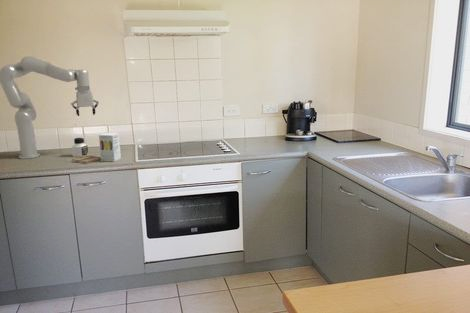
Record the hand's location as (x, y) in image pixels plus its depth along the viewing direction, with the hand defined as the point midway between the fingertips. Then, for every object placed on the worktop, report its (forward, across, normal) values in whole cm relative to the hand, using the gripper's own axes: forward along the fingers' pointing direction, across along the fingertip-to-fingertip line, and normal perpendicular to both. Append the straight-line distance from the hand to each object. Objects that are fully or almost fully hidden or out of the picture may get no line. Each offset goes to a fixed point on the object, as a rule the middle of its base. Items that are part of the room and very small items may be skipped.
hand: (86, 115), depth 272 cm
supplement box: (+27, +9, -24) cm, 37 cm away
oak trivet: (+26, -5, -18) cm, 32 cm away
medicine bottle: (+27, -6, -2) cm, 27 cm away
